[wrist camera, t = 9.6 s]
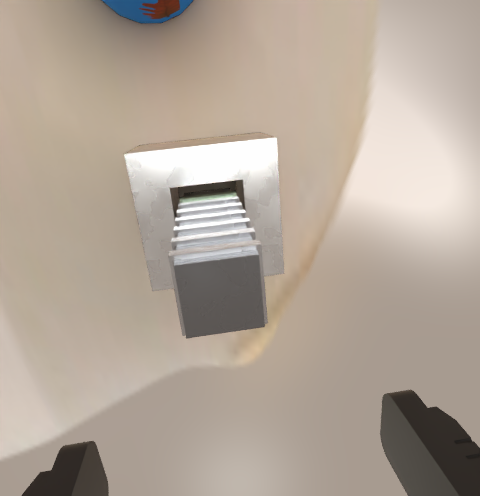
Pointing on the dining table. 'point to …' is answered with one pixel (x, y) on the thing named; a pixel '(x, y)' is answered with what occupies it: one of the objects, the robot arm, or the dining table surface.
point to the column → (216, 265)
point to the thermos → (148, 9)
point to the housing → (203, 172)
